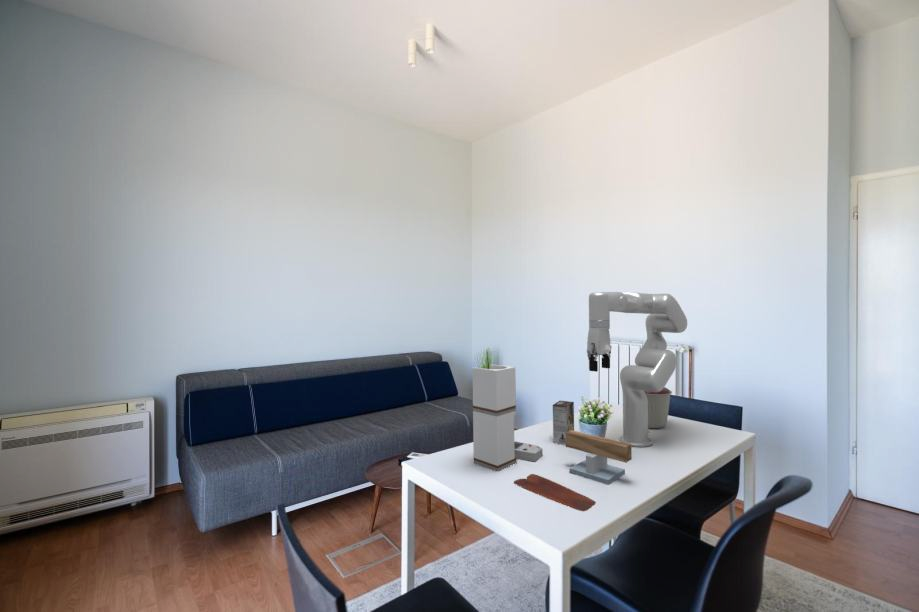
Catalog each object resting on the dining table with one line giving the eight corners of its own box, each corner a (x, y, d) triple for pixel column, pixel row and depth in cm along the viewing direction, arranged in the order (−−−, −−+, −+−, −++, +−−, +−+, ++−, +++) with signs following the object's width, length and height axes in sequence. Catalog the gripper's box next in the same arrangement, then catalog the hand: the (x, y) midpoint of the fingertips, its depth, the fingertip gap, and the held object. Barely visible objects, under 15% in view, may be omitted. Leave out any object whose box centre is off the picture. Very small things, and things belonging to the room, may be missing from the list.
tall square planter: (516, 463, 156) (515, 367, 155) (497, 471, 148) (496, 370, 148) (492, 455, 164) (491, 364, 163) (473, 463, 156) (472, 367, 156)
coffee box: (559, 437, 185) (559, 400, 184) (574, 439, 181) (574, 401, 181) (552, 443, 177) (552, 404, 177) (568, 445, 173) (567, 406, 173)
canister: (654, 433, 187) (654, 385, 187) (621, 423, 203) (620, 379, 203) (680, 427, 196) (680, 381, 196) (646, 418, 212) (646, 375, 212)
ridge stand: (587, 462, 155) (586, 443, 155) (624, 473, 145) (624, 453, 145) (569, 472, 146) (569, 452, 146) (608, 484, 136) (608, 462, 136)
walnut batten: (571, 443, 155) (571, 430, 155) (631, 459, 139) (631, 444, 139) (565, 446, 152) (565, 432, 152) (626, 462, 136) (626, 447, 136)
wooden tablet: (511, 485, 139) (511, 480, 139) (531, 476, 145) (531, 471, 145) (581, 516, 118) (581, 510, 118) (601, 504, 125) (601, 498, 125)
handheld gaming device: (535, 463, 156) (535, 452, 156) (499, 456, 164) (498, 446, 164) (543, 455, 164) (543, 446, 164) (508, 449, 172) (508, 439, 172)
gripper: (601, 323, 172) (601, 366, 172) (578, 325, 160) (579, 371, 160) (619, 324, 167) (619, 367, 167) (597, 326, 155) (597, 373, 155)
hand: (599, 369), depth 164 cm, fingers open, 9 cm apart
